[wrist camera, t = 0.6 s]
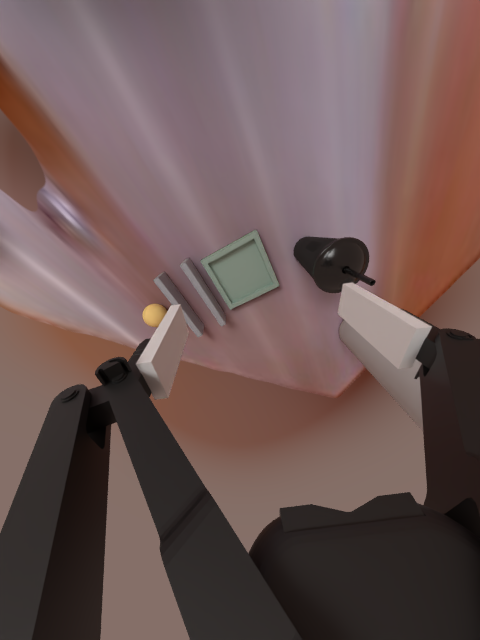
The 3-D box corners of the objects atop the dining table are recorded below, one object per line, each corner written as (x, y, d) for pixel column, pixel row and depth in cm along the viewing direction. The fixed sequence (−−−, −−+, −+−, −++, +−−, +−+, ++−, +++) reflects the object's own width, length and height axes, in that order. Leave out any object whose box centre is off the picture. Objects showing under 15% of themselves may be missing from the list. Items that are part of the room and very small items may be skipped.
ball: (142, 306, 41) (133, 317, 37) (160, 296, 40) (153, 306, 36) (157, 322, 44) (150, 334, 39) (175, 313, 43) (169, 325, 39)
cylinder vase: (361, 295, 43) (493, 378, 22) (397, 313, 47) (542, 401, 25) (327, 335, 49) (407, 433, 27) (362, 349, 52) (457, 446, 31)
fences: (159, 274, 38) (153, 280, 35) (189, 257, 37) (185, 262, 33) (200, 327, 45) (197, 337, 42) (225, 315, 44) (225, 324, 40)
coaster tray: (201, 259, 37) (200, 261, 36) (255, 229, 35) (256, 230, 34) (229, 306, 43) (230, 309, 42) (277, 283, 41) (279, 285, 39)
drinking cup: (284, 269, 39) (330, 315, 22) (288, 229, 35) (347, 247, 18) (320, 267, 39) (392, 311, 22) (327, 227, 36) (422, 243, 18)
